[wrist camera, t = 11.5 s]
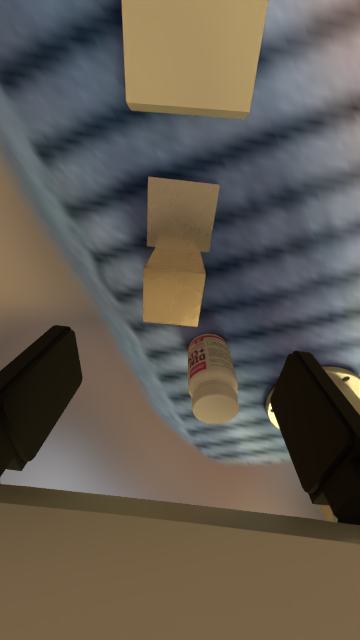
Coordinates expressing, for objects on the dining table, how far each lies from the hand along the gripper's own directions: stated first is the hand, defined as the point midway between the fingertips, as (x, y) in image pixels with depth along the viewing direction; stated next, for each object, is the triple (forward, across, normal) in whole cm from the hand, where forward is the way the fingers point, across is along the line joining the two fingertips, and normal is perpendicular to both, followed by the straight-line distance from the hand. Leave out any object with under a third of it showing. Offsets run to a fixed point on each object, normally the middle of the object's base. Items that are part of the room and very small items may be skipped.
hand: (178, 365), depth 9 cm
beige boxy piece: (+13, +1, -3) cm, 13 cm away
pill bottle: (+14, -3, +8) cm, 16 cm away
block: (+12, +1, -12) cm, 17 cm away
